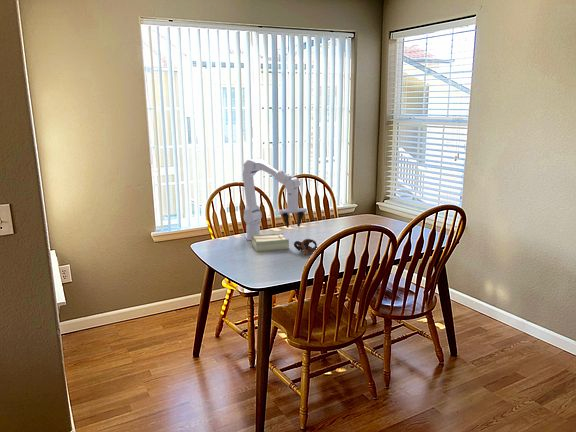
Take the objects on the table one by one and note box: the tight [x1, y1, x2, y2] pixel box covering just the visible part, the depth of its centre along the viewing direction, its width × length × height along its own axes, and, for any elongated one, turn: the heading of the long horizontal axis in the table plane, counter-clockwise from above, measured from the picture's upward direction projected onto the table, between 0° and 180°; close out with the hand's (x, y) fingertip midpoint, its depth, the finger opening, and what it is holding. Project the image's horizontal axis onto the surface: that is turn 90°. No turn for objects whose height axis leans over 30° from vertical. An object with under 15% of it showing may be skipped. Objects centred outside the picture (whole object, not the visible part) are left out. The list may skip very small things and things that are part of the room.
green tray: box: [251, 232, 290, 253], centre depth 254 cm, size 13×17×5 cm
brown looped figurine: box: [293, 238, 318, 257], centre depth 243 cm, size 12×10×8 cm
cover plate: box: [253, 234, 287, 242], centre depth 254 cm, size 11×15×2 cm
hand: (293, 226), depth 255 cm, fingers open, 5 cm apart
